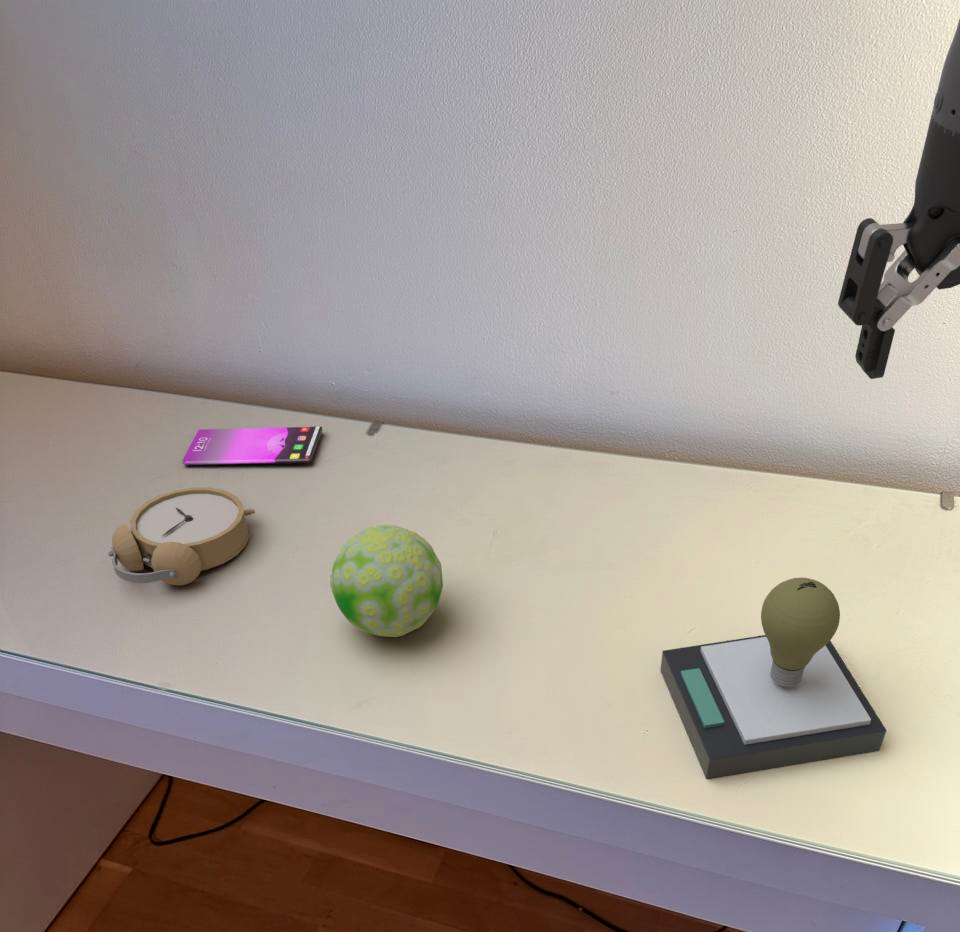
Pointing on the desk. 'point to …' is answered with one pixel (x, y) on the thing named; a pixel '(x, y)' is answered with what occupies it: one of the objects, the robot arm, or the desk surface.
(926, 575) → the desk surface
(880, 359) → the robot arm
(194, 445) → the smartphone
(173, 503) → the alarm clock
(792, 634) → the light bulb
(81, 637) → the desk surface
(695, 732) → the scale
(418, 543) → the decorative ball
